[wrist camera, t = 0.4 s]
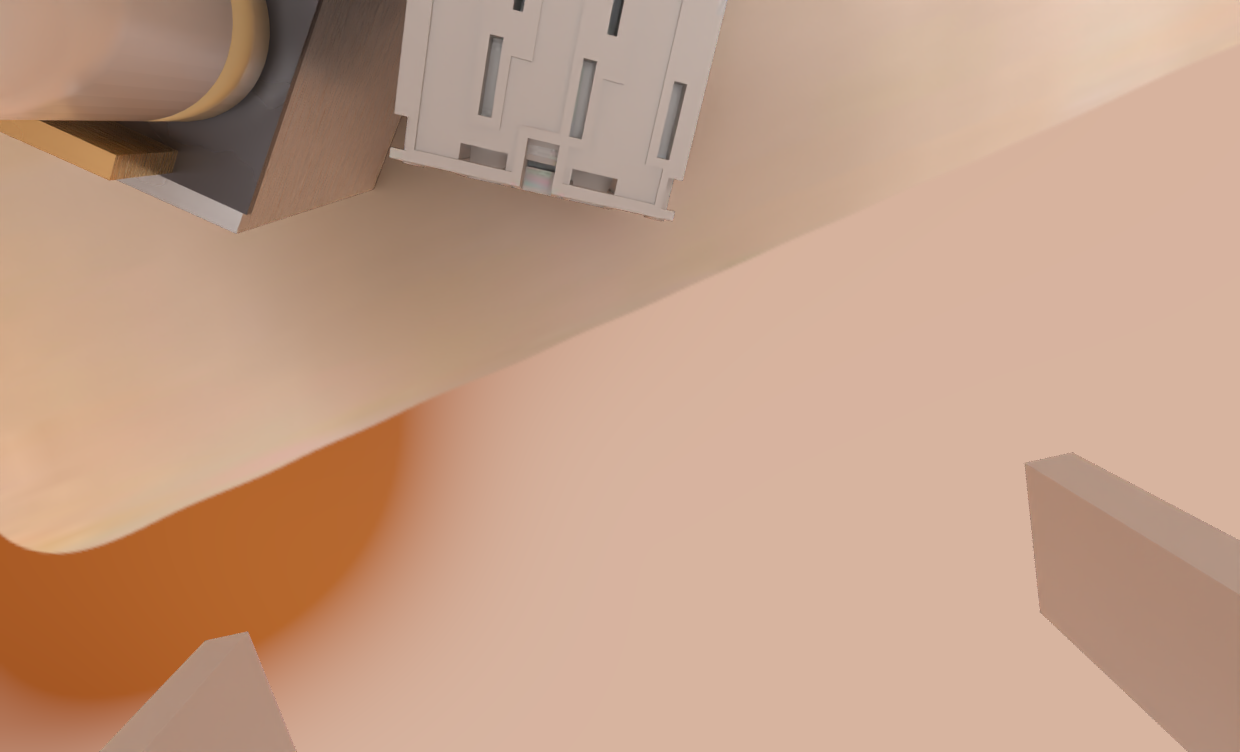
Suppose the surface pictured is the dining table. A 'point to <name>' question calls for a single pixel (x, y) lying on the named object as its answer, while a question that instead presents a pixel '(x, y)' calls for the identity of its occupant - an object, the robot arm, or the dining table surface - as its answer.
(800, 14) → the dining table surface
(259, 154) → the dark grey box
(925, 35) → the dining table surface
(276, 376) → the dining table surface
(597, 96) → the circuit breaker
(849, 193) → the dining table surface
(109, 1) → the fuse
